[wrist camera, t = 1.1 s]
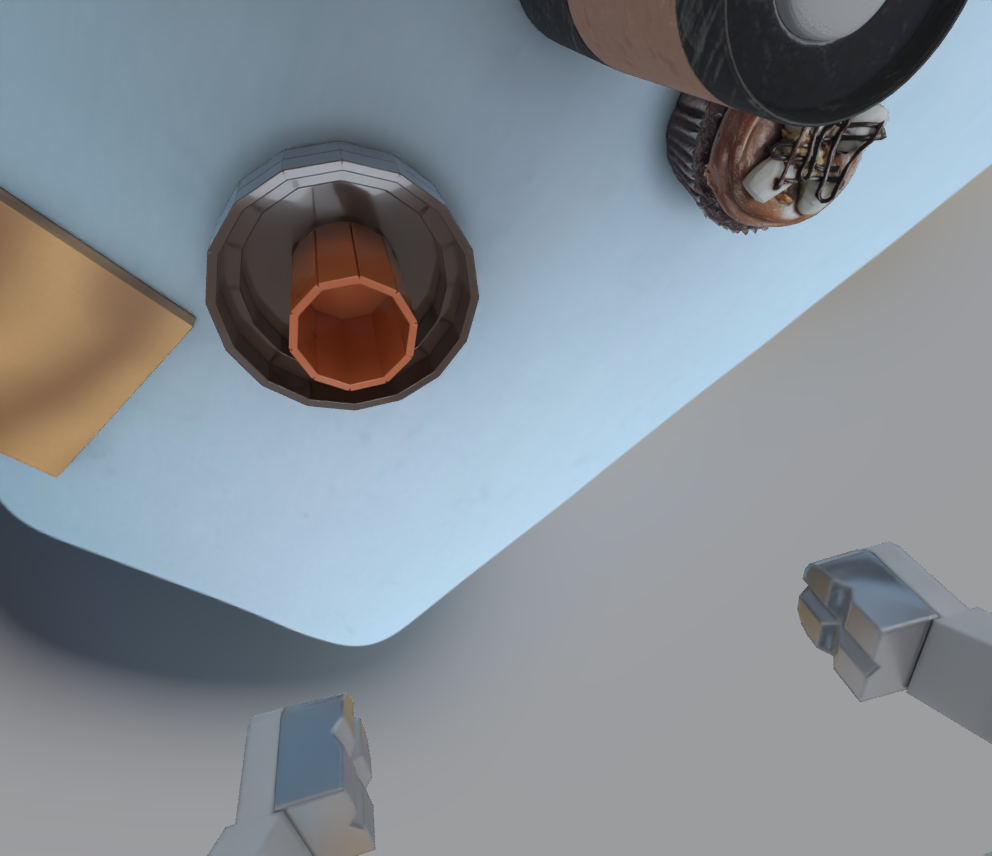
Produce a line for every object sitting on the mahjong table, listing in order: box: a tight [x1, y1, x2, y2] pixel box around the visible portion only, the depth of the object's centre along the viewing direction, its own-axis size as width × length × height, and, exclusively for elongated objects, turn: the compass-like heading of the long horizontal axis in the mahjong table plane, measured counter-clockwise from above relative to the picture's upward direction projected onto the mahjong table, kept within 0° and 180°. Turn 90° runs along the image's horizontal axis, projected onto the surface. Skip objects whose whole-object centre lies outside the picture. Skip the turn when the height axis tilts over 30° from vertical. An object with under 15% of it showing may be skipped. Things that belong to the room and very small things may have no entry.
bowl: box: [206, 141, 479, 410], centre depth 35 cm, size 14×14×4 cm
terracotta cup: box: [289, 221, 418, 391], centre depth 33 cm, size 6×6×8 cm
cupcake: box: [666, 92, 889, 235], centre depth 34 cm, size 10×10×10 cm
